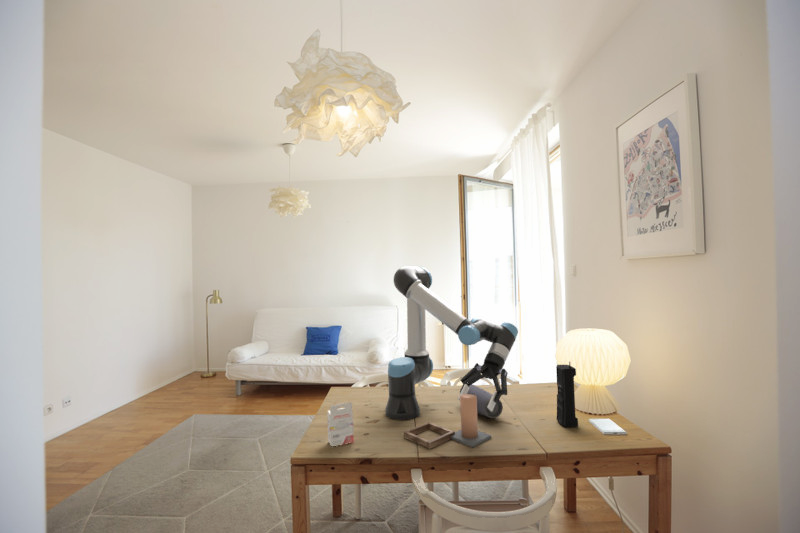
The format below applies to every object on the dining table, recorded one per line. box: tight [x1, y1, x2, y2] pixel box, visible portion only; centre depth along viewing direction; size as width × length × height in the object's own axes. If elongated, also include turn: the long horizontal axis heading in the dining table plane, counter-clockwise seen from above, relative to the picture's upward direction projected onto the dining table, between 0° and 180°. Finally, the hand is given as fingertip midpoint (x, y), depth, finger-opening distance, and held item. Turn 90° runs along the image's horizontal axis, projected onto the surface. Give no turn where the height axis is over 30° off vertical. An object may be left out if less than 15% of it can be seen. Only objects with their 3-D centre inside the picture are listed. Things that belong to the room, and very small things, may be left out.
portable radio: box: [556, 362, 579, 428], centre depth 148 cm, size 8×6×25 cm
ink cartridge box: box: [326, 402, 355, 447], centre depth 137 cm, size 9×5×15 cm, turn 114°
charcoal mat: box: [450, 429, 492, 449], centre depth 137 cm, size 11×11×1 cm
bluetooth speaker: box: [459, 384, 504, 419], centre depth 163 cm, size 23×9×10 cm, turn 18°
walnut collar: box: [403, 421, 456, 449], centre depth 139 cm, size 13×13×2 cm
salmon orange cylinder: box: [459, 394, 479, 439], centre depth 137 cm, size 6×6×14 cm
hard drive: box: [588, 418, 628, 435], centre depth 143 cm, size 2×8×12 cm
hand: (474, 405), depth 138 cm, fingers open, 13 cm apart
